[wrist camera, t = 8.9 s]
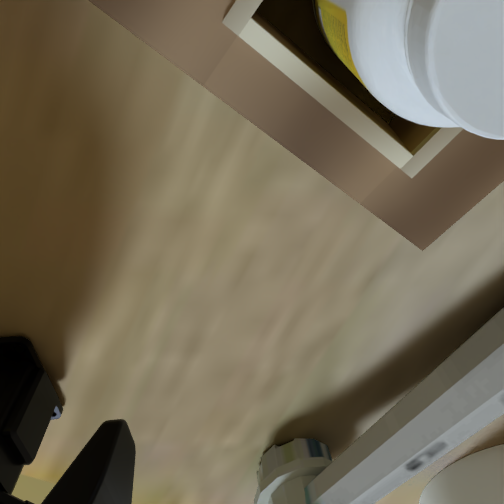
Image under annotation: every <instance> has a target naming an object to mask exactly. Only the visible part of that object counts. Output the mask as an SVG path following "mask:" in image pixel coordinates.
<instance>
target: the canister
mask: <svg viewBox="0 0 504 504" xmlns="http://www.w3.org/2000/svg"><path fill="white" fill-rule="evenodd" d="M419 504H504V444H502V445H498V446H494V447H491V448H487V449H484V450H481V451H479V452H476V453H473V454H471V455H469V456H466V457H464V458H462V459H460V460H458V461H456V462H454V463H453V464H451V465H449V466H448V467H446V468H445V469H443V470H442V471H441V472H439V473H438V474H437V475H436V476H435V477H434V478H433V479H432V480H431V481H430V482H429V483H428V484H427V485H426V487H425V488H424V490H423V492H422V494H421V496H420V500H419Z"/></svg>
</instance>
